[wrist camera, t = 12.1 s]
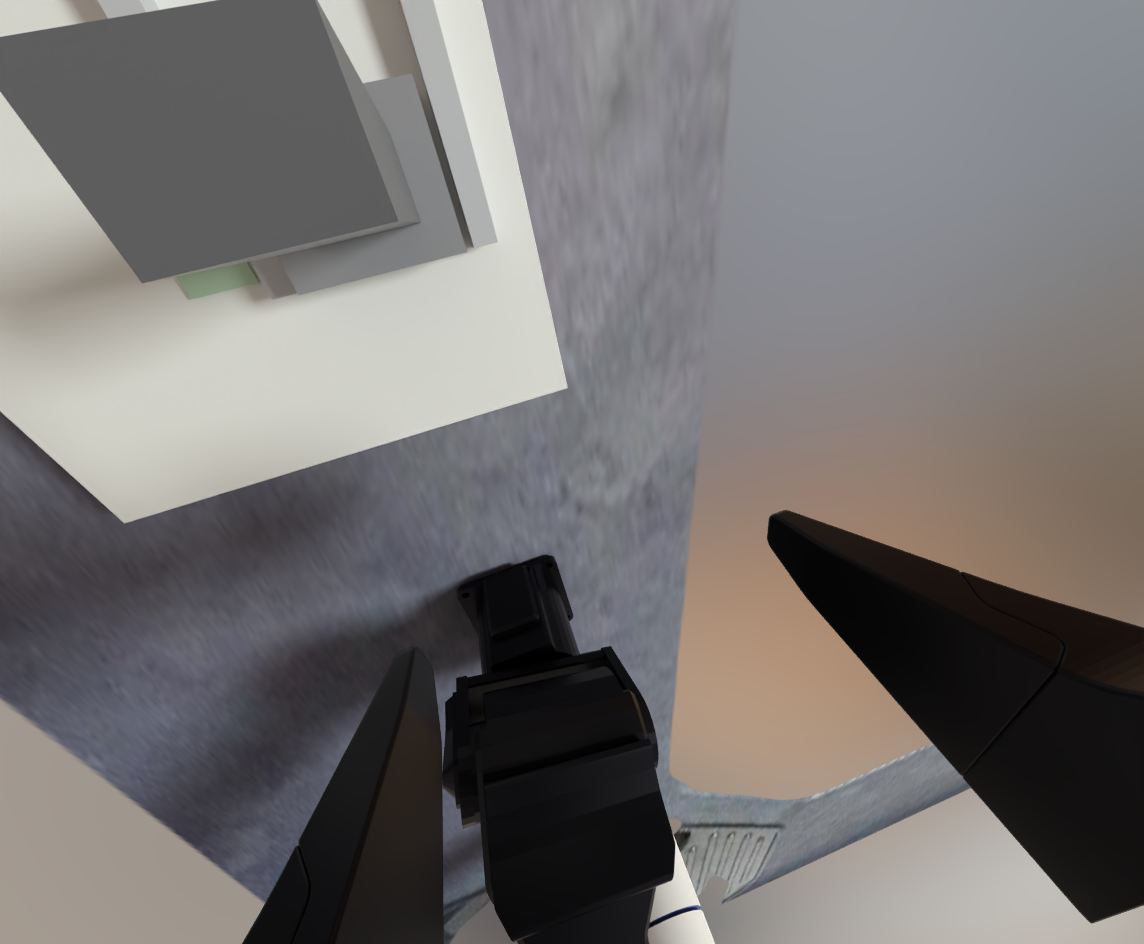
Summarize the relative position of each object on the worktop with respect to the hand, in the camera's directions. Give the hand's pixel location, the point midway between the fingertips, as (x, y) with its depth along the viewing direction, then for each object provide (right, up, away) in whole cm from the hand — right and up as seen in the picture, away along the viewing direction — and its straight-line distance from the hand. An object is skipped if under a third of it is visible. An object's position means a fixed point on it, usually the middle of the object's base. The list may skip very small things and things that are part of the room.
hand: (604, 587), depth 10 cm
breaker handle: (-7, +11, +3) cm, 14 cm away
